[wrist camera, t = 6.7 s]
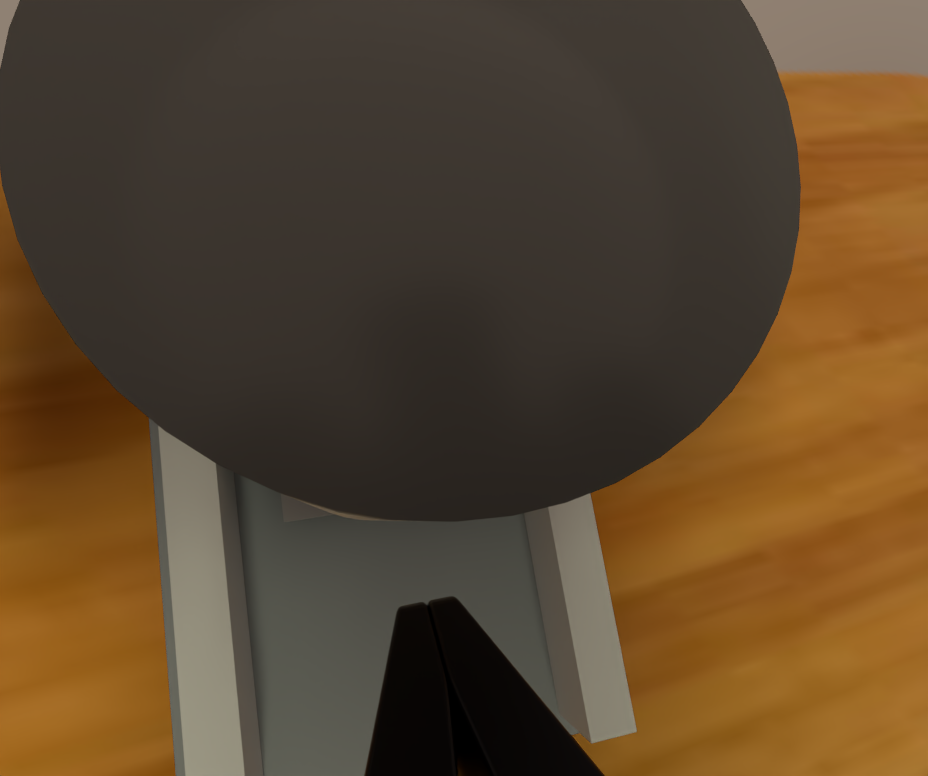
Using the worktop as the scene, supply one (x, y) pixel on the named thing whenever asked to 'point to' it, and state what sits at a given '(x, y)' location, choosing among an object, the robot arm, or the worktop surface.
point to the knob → (406, 232)
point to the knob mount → (357, 617)
